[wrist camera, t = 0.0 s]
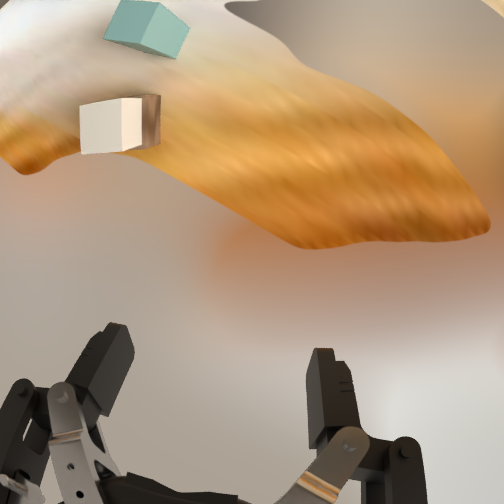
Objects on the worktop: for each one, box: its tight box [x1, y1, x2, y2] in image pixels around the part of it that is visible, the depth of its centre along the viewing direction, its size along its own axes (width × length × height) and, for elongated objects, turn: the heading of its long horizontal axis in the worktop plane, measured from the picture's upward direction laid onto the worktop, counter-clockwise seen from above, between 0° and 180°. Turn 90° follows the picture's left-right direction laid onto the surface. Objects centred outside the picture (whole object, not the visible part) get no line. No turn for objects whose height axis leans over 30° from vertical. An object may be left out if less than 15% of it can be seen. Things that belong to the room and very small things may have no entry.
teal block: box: [103, 0, 190, 59], centre depth 23 cm, size 5×5×11 cm
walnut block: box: [124, 95, 161, 150], centre depth 31 cm, size 7×7×5 cm
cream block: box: [80, 98, 142, 155], centre depth 27 cm, size 6×6×5 cm
